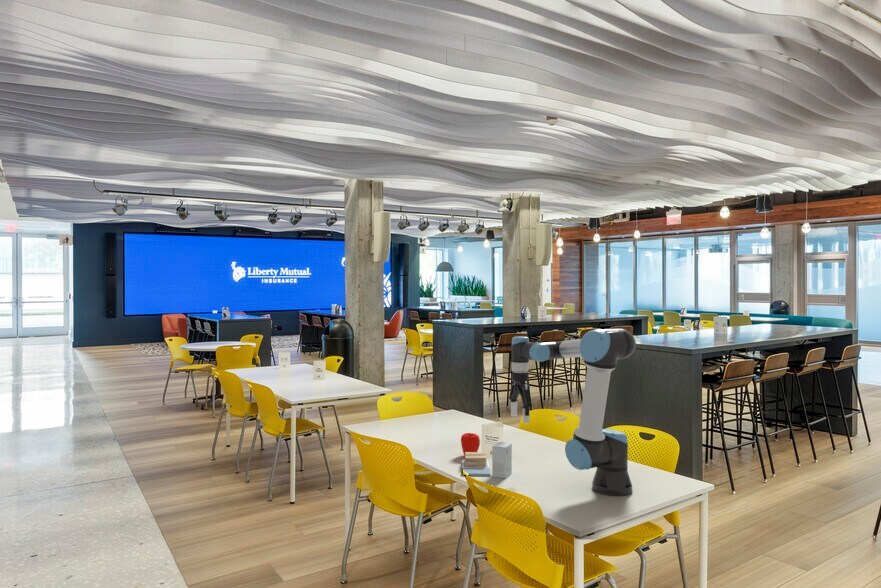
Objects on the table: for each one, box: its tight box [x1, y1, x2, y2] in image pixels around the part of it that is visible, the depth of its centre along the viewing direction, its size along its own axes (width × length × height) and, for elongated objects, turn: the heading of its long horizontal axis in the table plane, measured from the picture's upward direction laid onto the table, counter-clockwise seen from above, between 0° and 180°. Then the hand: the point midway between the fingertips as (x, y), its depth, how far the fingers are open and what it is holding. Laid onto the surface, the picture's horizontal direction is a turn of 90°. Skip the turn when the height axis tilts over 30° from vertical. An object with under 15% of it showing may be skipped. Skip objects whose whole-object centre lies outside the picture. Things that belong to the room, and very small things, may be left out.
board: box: [461, 459, 491, 477], centre depth 257 cm, size 20×12×1 cm, turn 178°
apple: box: [460, 432, 481, 456], centre depth 277 cm, size 9×9×11 cm
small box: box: [491, 441, 513, 479], centre depth 248 cm, size 8×6×13 cm
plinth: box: [464, 451, 487, 467], centre depth 261 cm, size 9×9×4 cm
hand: (519, 419), depth 258 cm, fingers open, 13 cm apart
